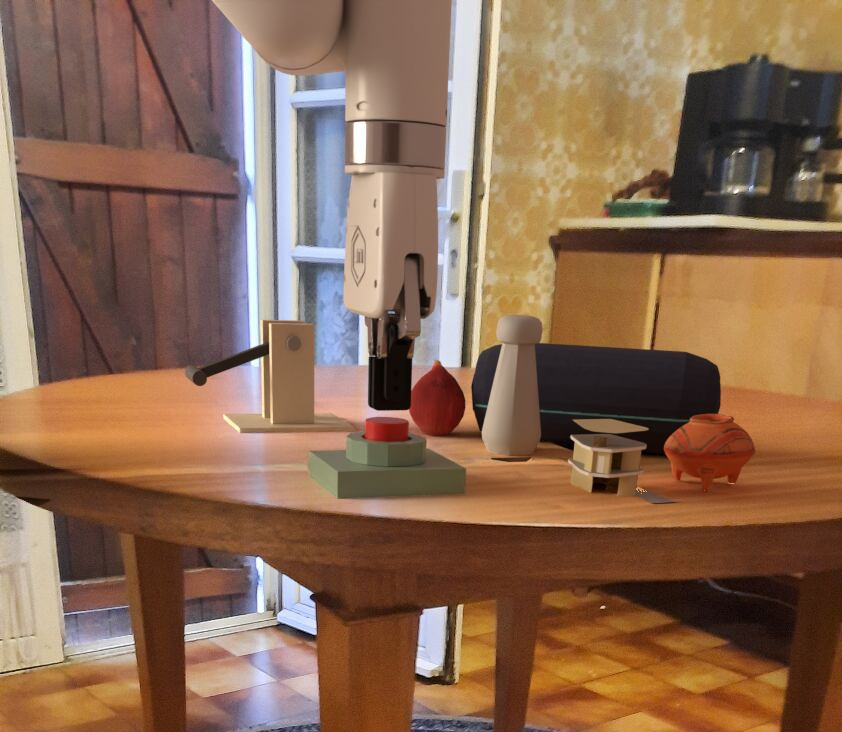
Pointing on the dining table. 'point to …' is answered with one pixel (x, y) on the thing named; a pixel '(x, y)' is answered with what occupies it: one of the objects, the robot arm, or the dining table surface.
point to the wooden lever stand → (287, 384)
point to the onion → (437, 402)
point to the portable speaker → (610, 390)
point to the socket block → (385, 469)
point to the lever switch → (225, 364)
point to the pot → (709, 449)
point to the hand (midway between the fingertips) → (389, 408)
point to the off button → (386, 429)
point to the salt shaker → (514, 391)
